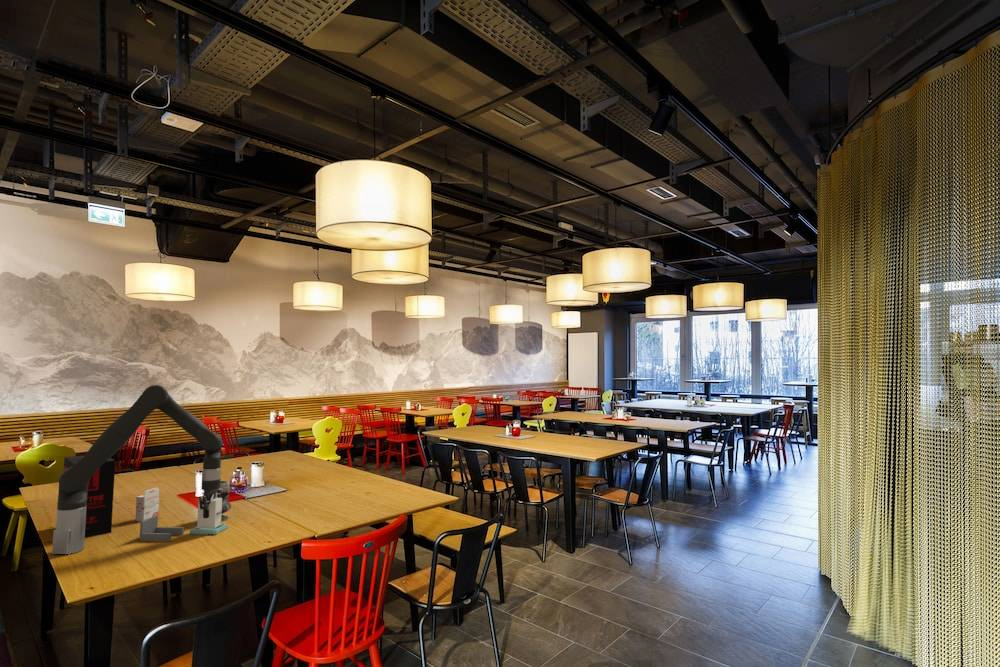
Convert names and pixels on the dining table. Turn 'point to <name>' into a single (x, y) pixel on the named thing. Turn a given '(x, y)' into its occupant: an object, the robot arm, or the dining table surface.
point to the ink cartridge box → (147, 504)
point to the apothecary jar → (224, 498)
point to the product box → (98, 497)
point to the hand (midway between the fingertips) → (209, 516)
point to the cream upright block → (210, 514)
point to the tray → (209, 530)
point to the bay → (157, 530)
